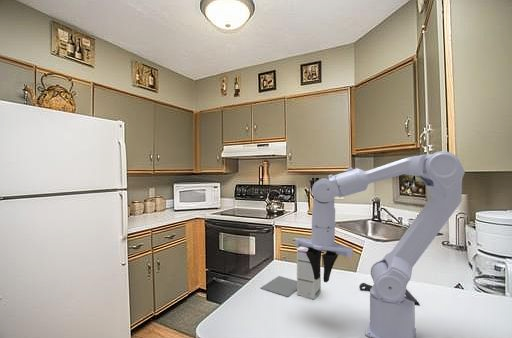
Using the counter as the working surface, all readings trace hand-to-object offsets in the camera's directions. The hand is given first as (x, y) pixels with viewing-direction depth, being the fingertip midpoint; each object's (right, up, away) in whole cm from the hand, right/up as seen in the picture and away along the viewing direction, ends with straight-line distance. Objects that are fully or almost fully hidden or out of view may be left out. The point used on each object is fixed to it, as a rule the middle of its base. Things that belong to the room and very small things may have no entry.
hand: (321, 279), depth 66 cm
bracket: (+24, -12, +17) cm, 32 cm away
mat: (-8, -11, +20) cm, 24 cm away
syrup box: (0, -11, +15) cm, 18 cm away
